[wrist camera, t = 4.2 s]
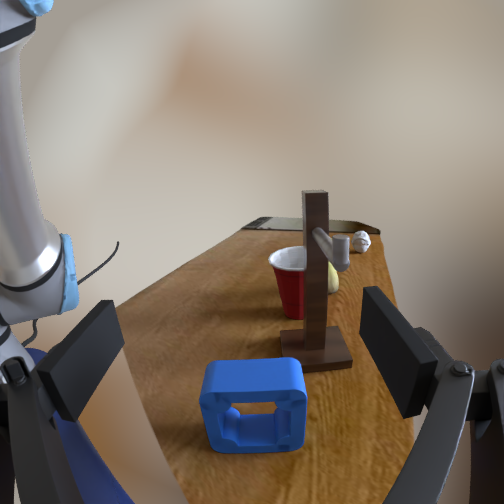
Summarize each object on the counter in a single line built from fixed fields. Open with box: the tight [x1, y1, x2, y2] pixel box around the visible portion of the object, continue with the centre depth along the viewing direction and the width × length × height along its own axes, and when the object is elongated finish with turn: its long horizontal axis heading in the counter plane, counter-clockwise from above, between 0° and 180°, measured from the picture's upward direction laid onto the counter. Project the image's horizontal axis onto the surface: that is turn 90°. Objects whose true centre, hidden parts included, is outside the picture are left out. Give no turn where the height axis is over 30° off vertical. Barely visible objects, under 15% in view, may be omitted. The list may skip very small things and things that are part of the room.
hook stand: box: [280, 190, 353, 373], centre depth 39 cm, size 19×10×25 cm, turn 179°
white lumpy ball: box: [351, 231, 371, 253], centre depth 91 cm, size 6×7×7 cm
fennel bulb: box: [328, 239, 339, 294], centre depth 66 cm, size 6×5×12 cm
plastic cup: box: [268, 246, 304, 320], centre depth 58 cm, size 11×11×12 cm
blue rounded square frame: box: [199, 357, 307, 453], centre depth 29 cm, size 5×10×10 cm, turn 89°
